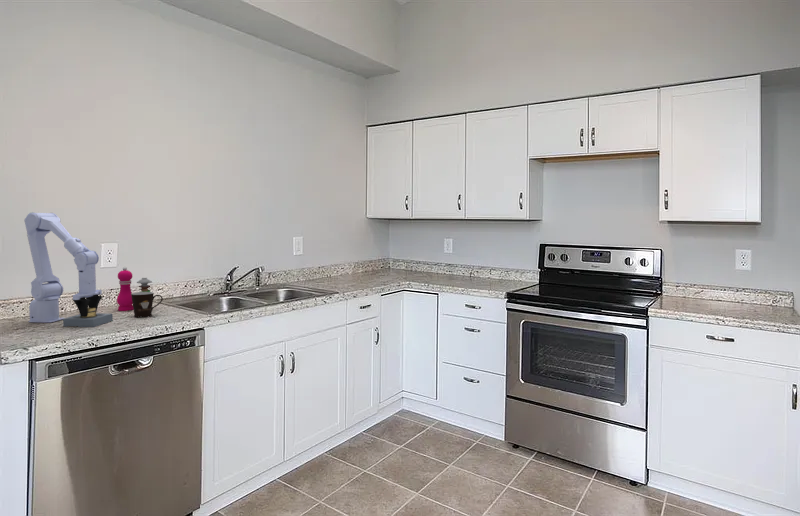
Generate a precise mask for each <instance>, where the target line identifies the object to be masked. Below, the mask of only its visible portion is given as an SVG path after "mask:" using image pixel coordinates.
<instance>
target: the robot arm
mask: <svg viewBox="0 0 800 516" xmlns="http://www.w3.org/2000/svg"><path fill="white" fill-rule="evenodd" d="M24 225H25V229H26V236H27V240H28V241H27V242H28V246H29V249H30V254H31V258H32V262H33V269H34V272H35V278H34V279H33V280H32V281H31V282H30V285H31V286H30V287H31V288H30V289H31V290H30V294H31V296H32V297H33V299H32V300H31V301H30V303H29V307H28V308H29V310H28V311H29V320H28V321H27V322H28V323H55V322H57V321H58V322H59V321H63V319H64V318H65V317H60V301H59V299H61V296H62V295H63V293H64V286H63V285H62V283H61V282H60V278H59V277H58V276H56V275H54V273H53V269H52V265H51V261H50V256H49V255H50V254H49V252H48V248H47V243H46V239H45V237H46V235H48V234H49V233H50V232H52V233H53V234H54V235H55V236H56V237H57V238H59V239H60V240H61V241H62V242H63V243H64V244H63V247H64V248H65V249H66V250H67V252H68V253H70V254H71V256H72V257H73V262H74V264H75V265H76V269H77V271H78V272H77V273H78V292H77V293H75V294H72V301H73V303H74V304H75V305H76V307H77V309H78V312H79V314H80V315H81V317H86V316H87V314H88V307H95V308H96V312H98V311H97V310H98V307H99V303H100V301H101V300H102V299H103V296H102V295H103V290H102V289H97V282H96V281H97V279H96V277H97V276H96V275H97V274H96V265H97V264H98V263H99V261H100V260H99V255H98V253H97V251H95V250H91V249H89V248H88V247H87V246H86V245H85V244H84V243H83V242H82V239H80V238H78V237H73V236H72V234H71V233H69V231H68V229H66V228H65V226H64V225H63V224H62V223H61V218H60V217H59V216H58V215H57V214H56V213H54V212H33V211H32V212H29V213H27V215H26V217H25V218H24Z"/></svg>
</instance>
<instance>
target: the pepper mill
mask: <svg viewBox="0 0 800 516" xmlns="http://www.w3.org/2000/svg"><path fill="white" fill-rule="evenodd" d="M132 278H133V273H132V271H130V270H128V267H126V266H124V267H122V270H121V271H118V273H117V279H118V280H119V281H118V284H119V286H120V290H119V292H118V296H117V298H116V303H117V305H118V306H117V310H118V311H120V312H128V311H134V308H133V302H132V296H131V294H132V293H133V292H132V290H131V284H132Z"/></svg>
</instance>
